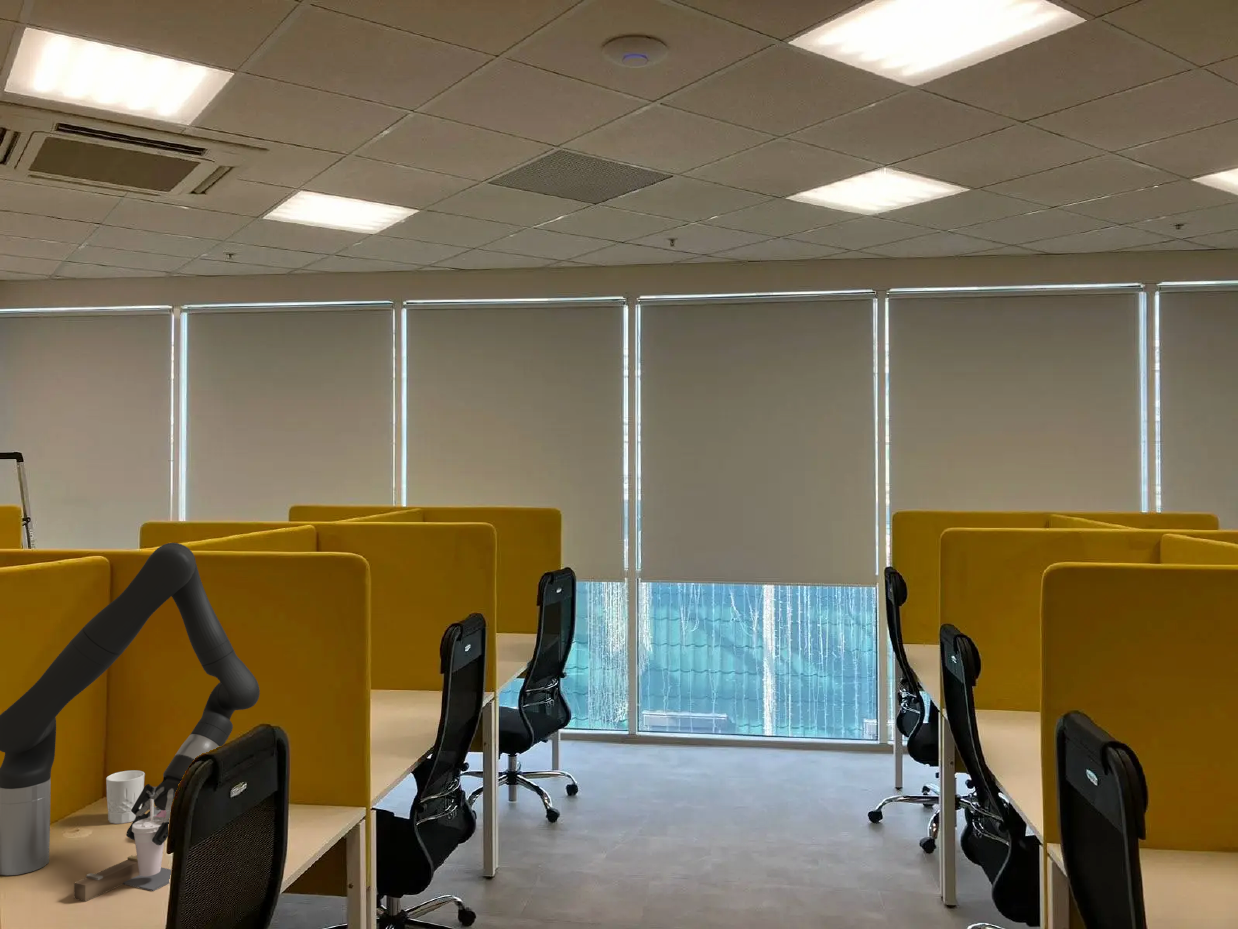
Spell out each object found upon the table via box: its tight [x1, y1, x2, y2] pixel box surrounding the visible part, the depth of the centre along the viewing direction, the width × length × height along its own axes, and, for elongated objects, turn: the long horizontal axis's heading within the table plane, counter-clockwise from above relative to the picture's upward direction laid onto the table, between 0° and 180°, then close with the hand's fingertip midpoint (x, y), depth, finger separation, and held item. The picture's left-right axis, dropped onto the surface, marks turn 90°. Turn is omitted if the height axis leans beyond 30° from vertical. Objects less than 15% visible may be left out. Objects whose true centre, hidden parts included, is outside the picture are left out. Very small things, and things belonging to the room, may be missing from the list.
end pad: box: [122, 866, 172, 892], centre depth 179 cm, size 8×8×1 cm
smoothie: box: [132, 799, 165, 876], centre depth 178 cm, size 6×6×14 cm
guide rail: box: [73, 855, 140, 902], centre depth 177 cm, size 3×16×3 cm, turn 158°
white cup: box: [105, 769, 146, 825], centre depth 211 cm, size 8×8×10 cm
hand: (143, 840), depth 176 cm, fingers closed on smoothie, 6 cm apart
